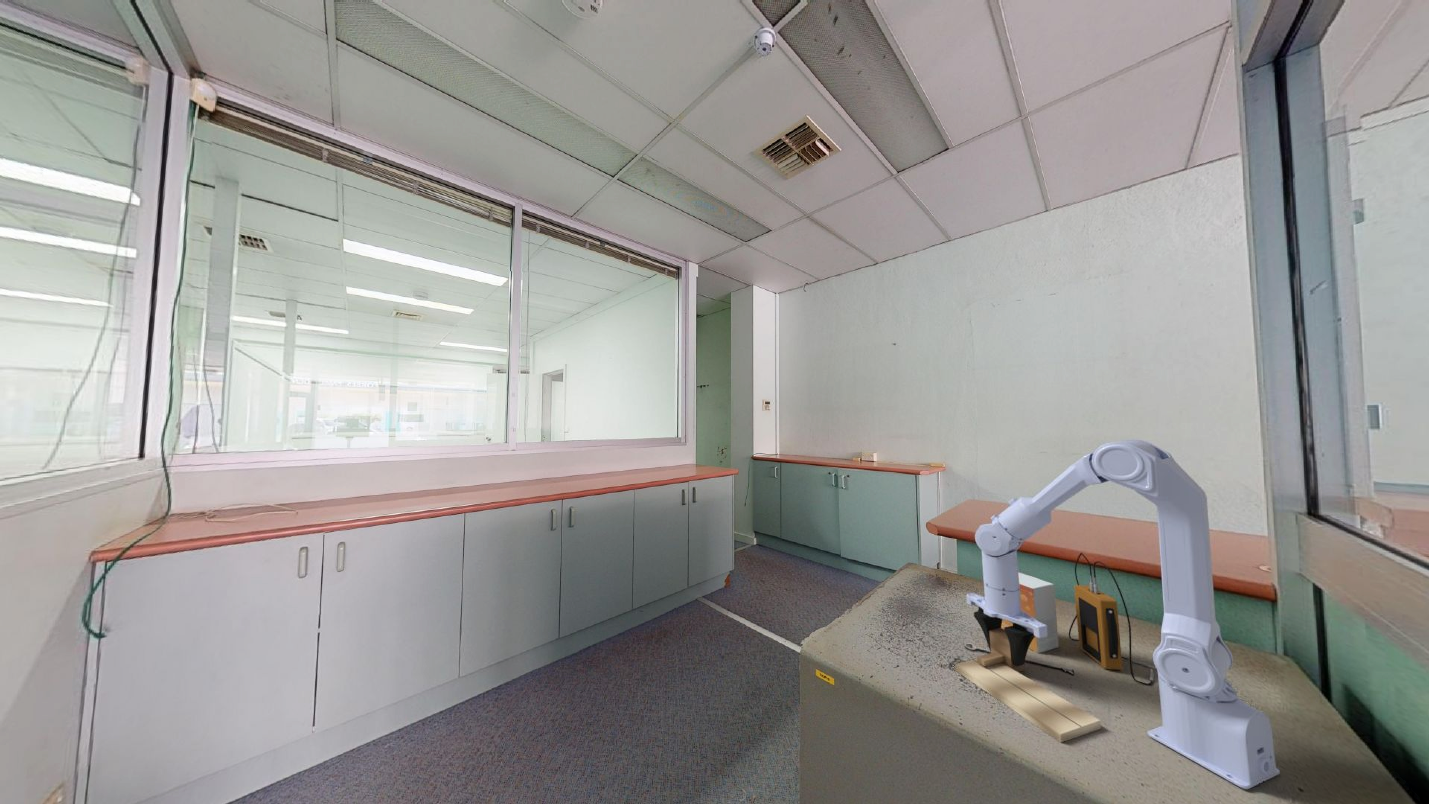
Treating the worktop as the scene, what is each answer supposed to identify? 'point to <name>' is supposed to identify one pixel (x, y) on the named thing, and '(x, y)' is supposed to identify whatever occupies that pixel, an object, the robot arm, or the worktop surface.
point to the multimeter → (1101, 625)
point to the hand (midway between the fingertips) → (1006, 657)
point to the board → (1030, 700)
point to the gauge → (999, 651)
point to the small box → (1039, 610)
